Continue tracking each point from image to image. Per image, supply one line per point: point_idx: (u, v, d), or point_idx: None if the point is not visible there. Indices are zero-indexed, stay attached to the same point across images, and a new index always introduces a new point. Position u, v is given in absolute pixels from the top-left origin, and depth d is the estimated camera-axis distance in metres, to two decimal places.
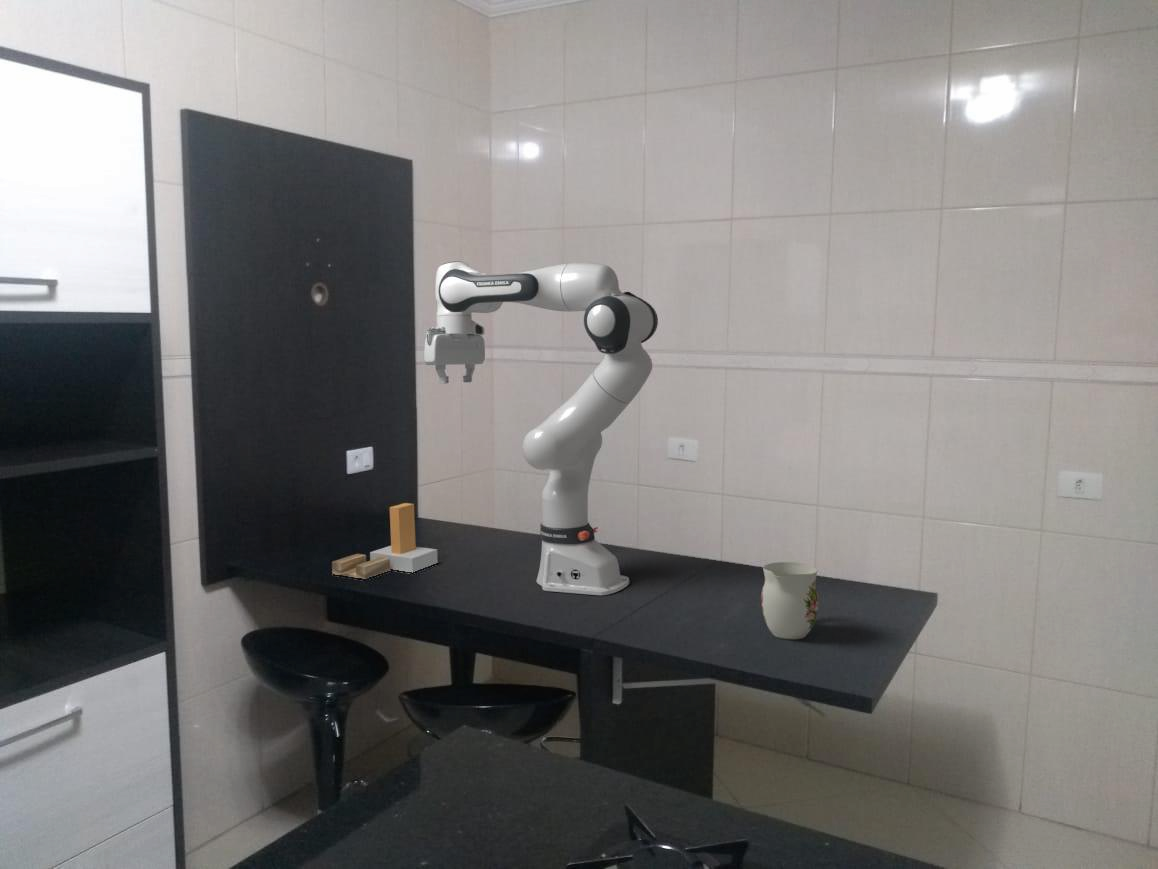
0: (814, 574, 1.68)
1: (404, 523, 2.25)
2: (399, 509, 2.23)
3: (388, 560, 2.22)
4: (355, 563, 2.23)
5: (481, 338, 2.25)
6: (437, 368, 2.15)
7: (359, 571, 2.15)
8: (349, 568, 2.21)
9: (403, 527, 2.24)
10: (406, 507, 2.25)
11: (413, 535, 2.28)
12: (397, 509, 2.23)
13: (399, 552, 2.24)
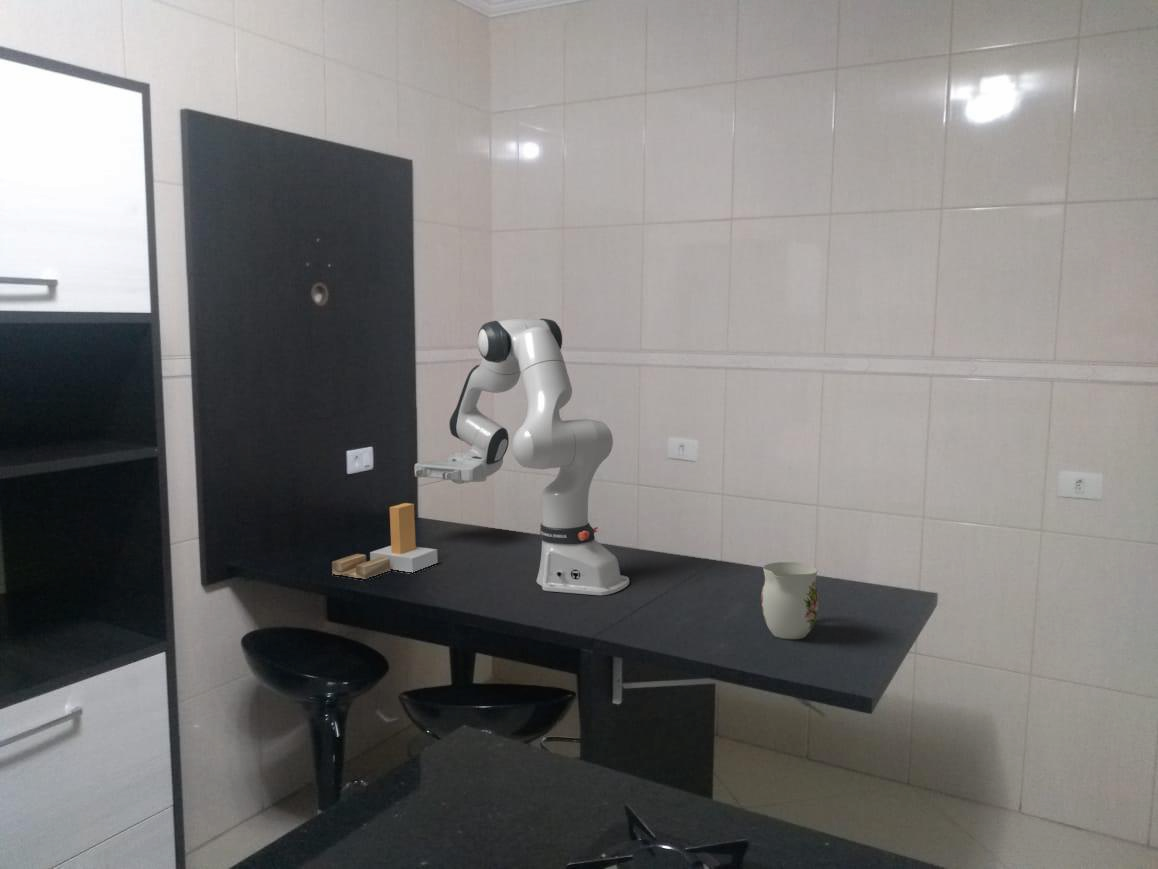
0: (814, 574, 1.68)
1: (404, 523, 2.25)
2: (399, 509, 2.23)
3: (388, 560, 2.22)
4: (355, 563, 2.23)
5: (478, 461, 2.41)
6: None
7: (359, 571, 2.15)
8: (349, 568, 2.21)
9: (403, 527, 2.24)
10: (406, 507, 2.25)
11: (413, 535, 2.28)
12: (397, 509, 2.23)
13: (399, 552, 2.24)
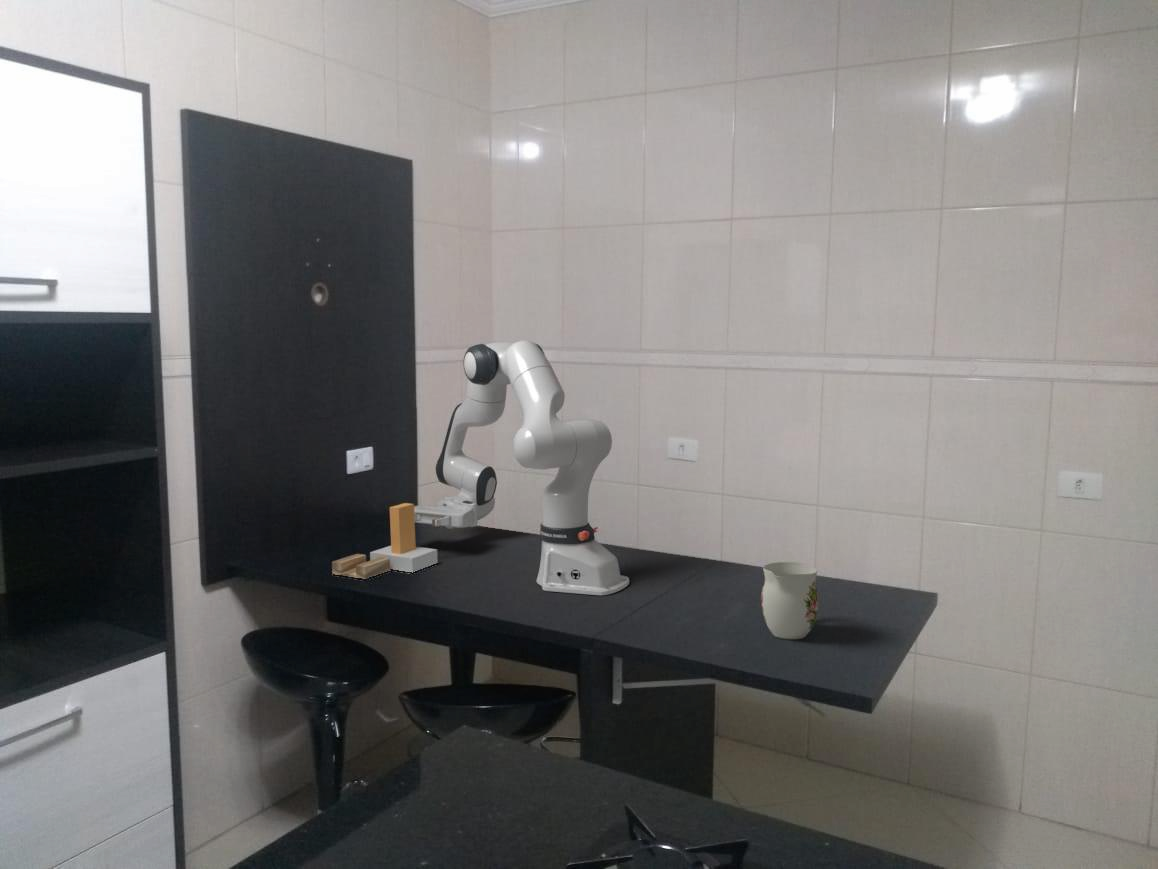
0: (814, 574, 1.68)
1: (404, 523, 2.25)
2: (399, 509, 2.23)
3: (388, 560, 2.22)
4: (355, 563, 2.23)
5: (468, 506, 2.38)
6: None
7: (359, 571, 2.15)
8: (349, 568, 2.21)
9: (403, 527, 2.24)
10: (406, 507, 2.25)
11: (413, 535, 2.28)
12: (397, 509, 2.23)
13: (399, 552, 2.24)
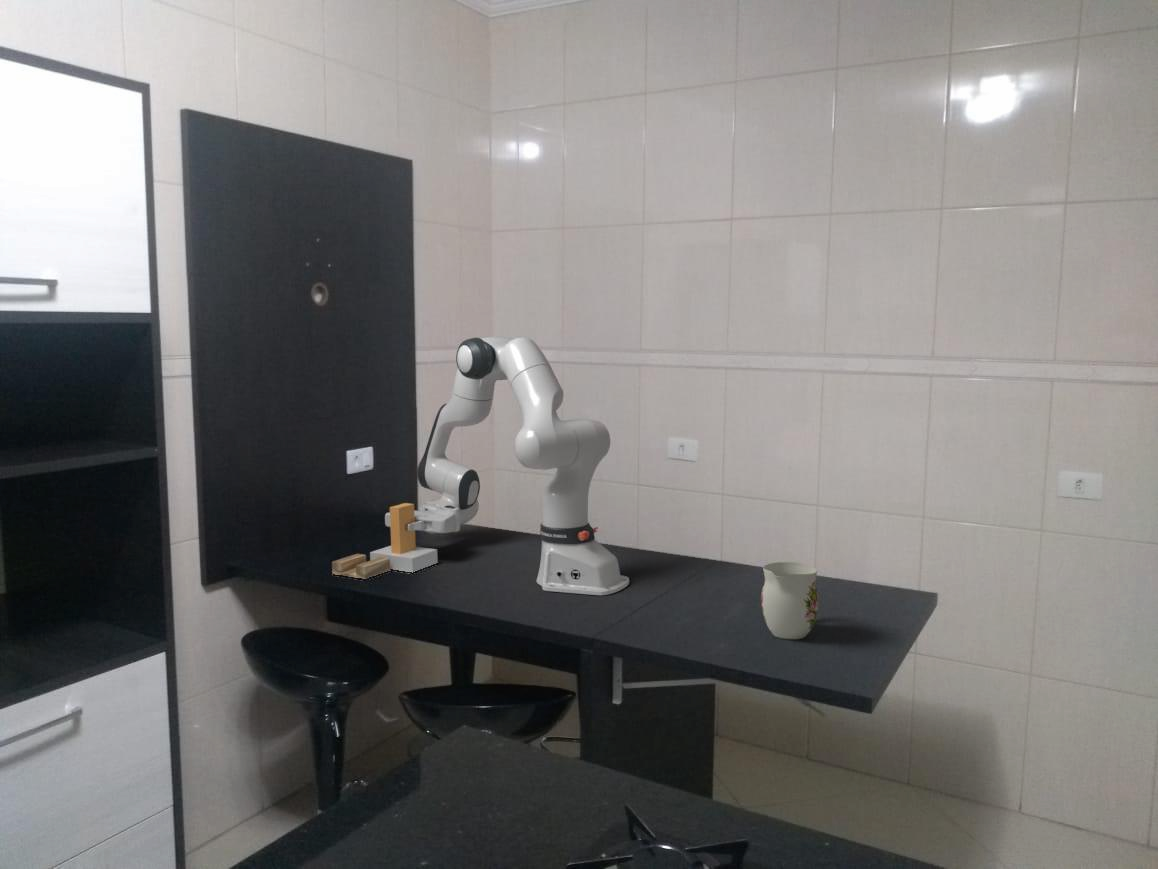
0: (814, 574, 1.68)
1: (404, 523, 2.25)
2: (399, 509, 2.23)
3: (388, 560, 2.22)
4: (355, 563, 2.23)
5: (450, 511, 2.31)
6: None
7: (359, 571, 2.15)
8: (349, 568, 2.21)
9: (403, 527, 2.24)
10: (406, 507, 2.25)
11: (413, 535, 2.28)
12: (397, 509, 2.23)
13: (399, 552, 2.24)
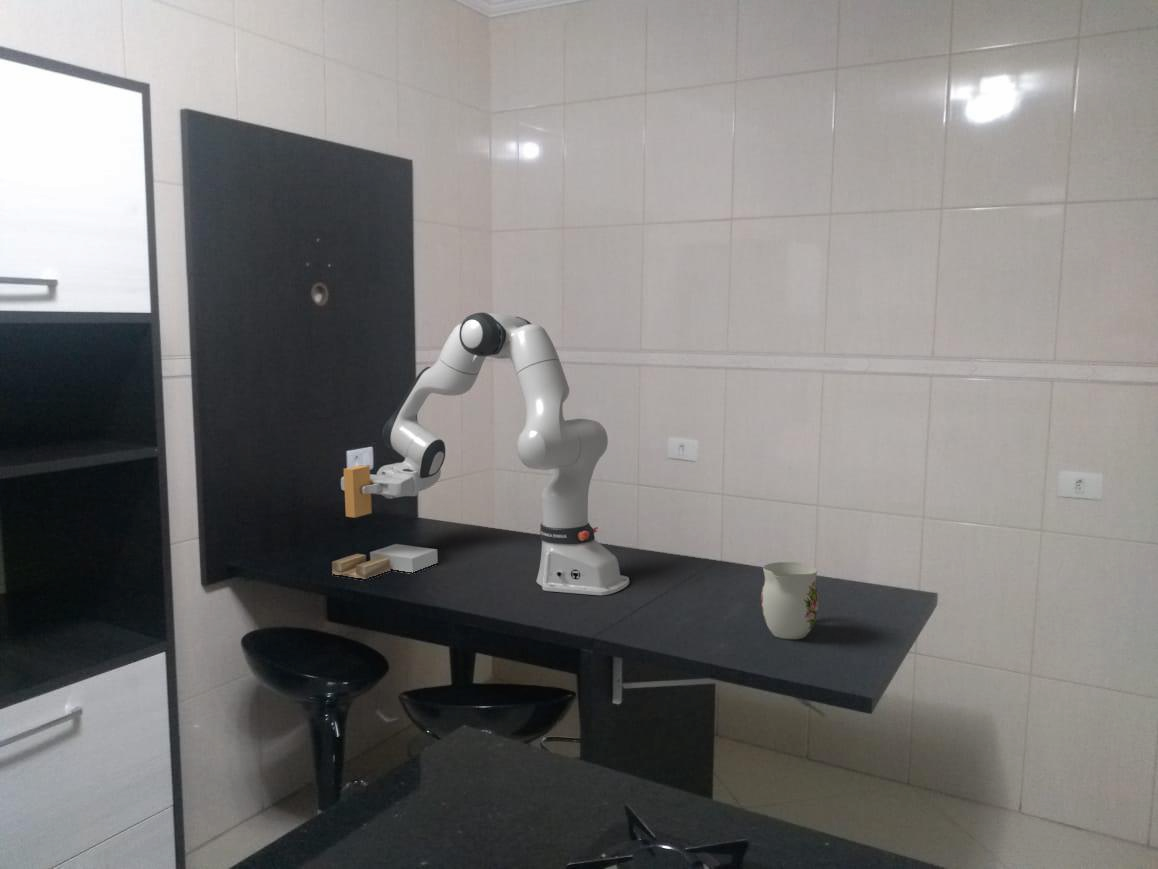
0: (814, 574, 1.68)
1: (358, 485, 2.17)
2: (353, 471, 2.15)
3: (388, 560, 2.22)
4: (355, 563, 2.23)
5: (408, 474, 2.23)
6: None
7: (359, 571, 2.15)
8: (349, 568, 2.21)
9: (357, 489, 2.16)
10: (361, 469, 2.17)
11: (369, 498, 2.20)
12: (351, 471, 2.15)
13: (353, 515, 2.16)
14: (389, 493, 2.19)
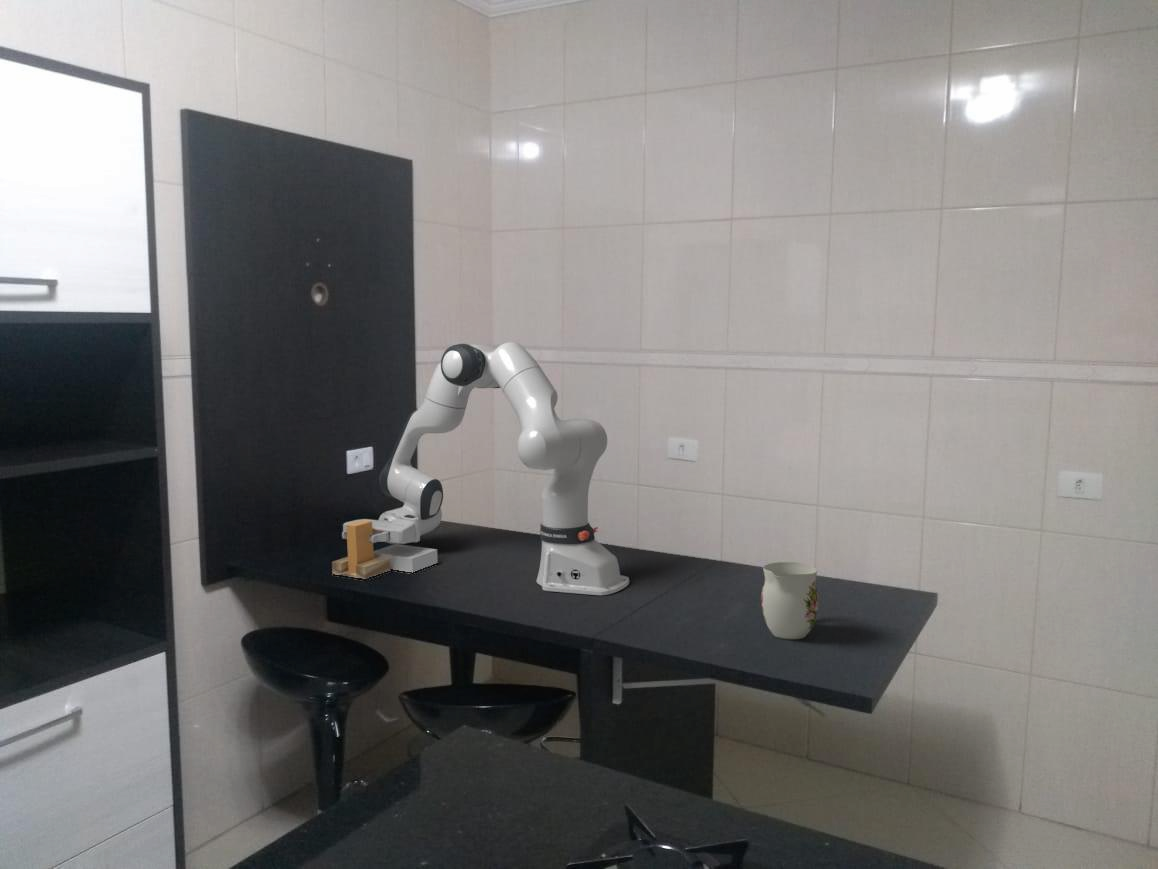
0: (814, 574, 1.68)
1: (361, 541, 2.18)
2: (356, 527, 2.17)
3: (388, 560, 2.22)
4: None
5: (410, 521, 2.25)
6: None
7: (359, 571, 2.15)
8: None
9: (360, 545, 2.18)
10: (364, 525, 2.19)
11: (371, 553, 2.22)
12: (354, 527, 2.17)
13: None
14: (391, 541, 2.20)
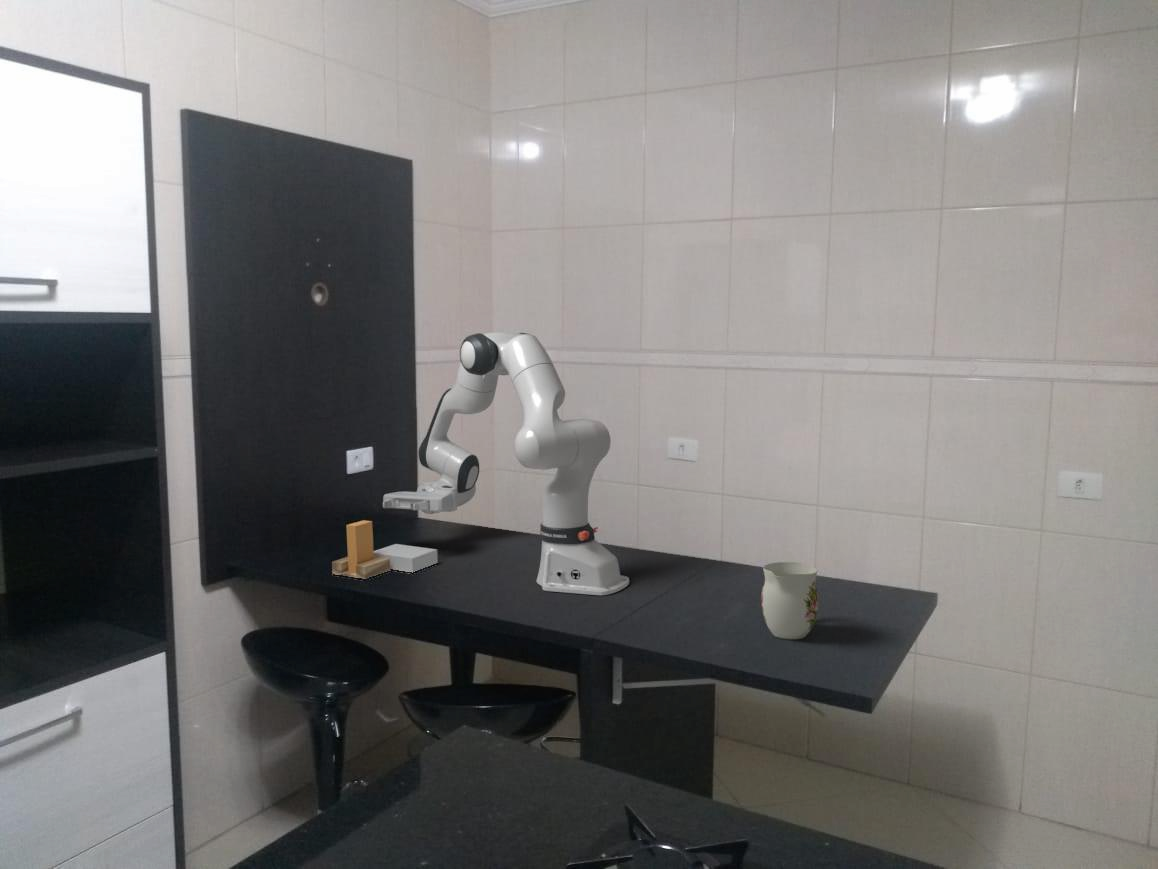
0: (814, 574, 1.68)
1: (361, 541, 2.18)
2: (356, 527, 2.17)
3: (388, 560, 2.22)
4: None
5: (447, 491, 2.35)
6: None
7: (359, 571, 2.15)
8: None
9: (360, 545, 2.18)
10: (364, 525, 2.19)
11: (371, 553, 2.22)
12: (354, 527, 2.17)
13: None
14: (431, 508, 2.30)
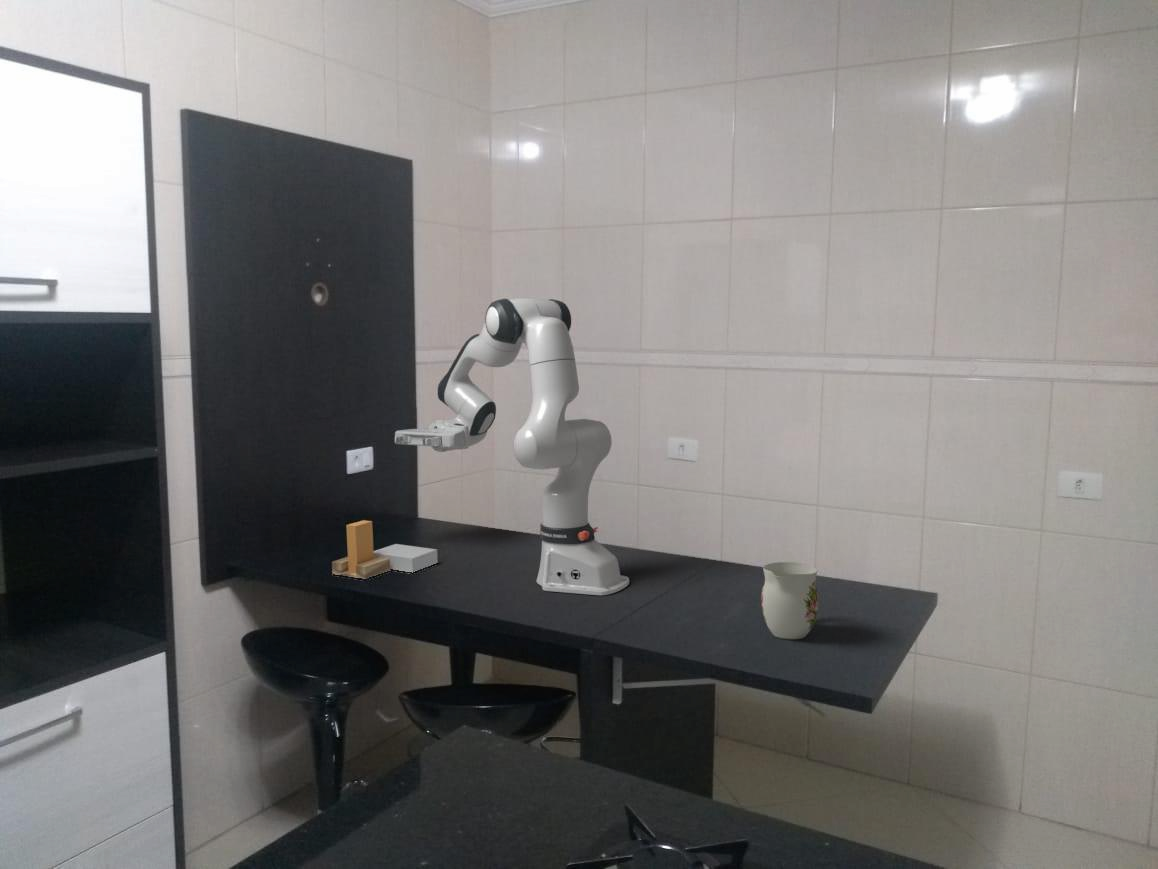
0: (814, 574, 1.68)
1: (361, 541, 2.18)
2: (356, 527, 2.17)
3: (388, 560, 2.22)
4: None
5: (459, 428, 2.35)
6: None
7: (359, 571, 2.15)
8: None
9: (360, 545, 2.18)
10: (364, 525, 2.19)
11: (371, 553, 2.22)
12: (354, 527, 2.17)
13: None
14: (442, 445, 2.30)
